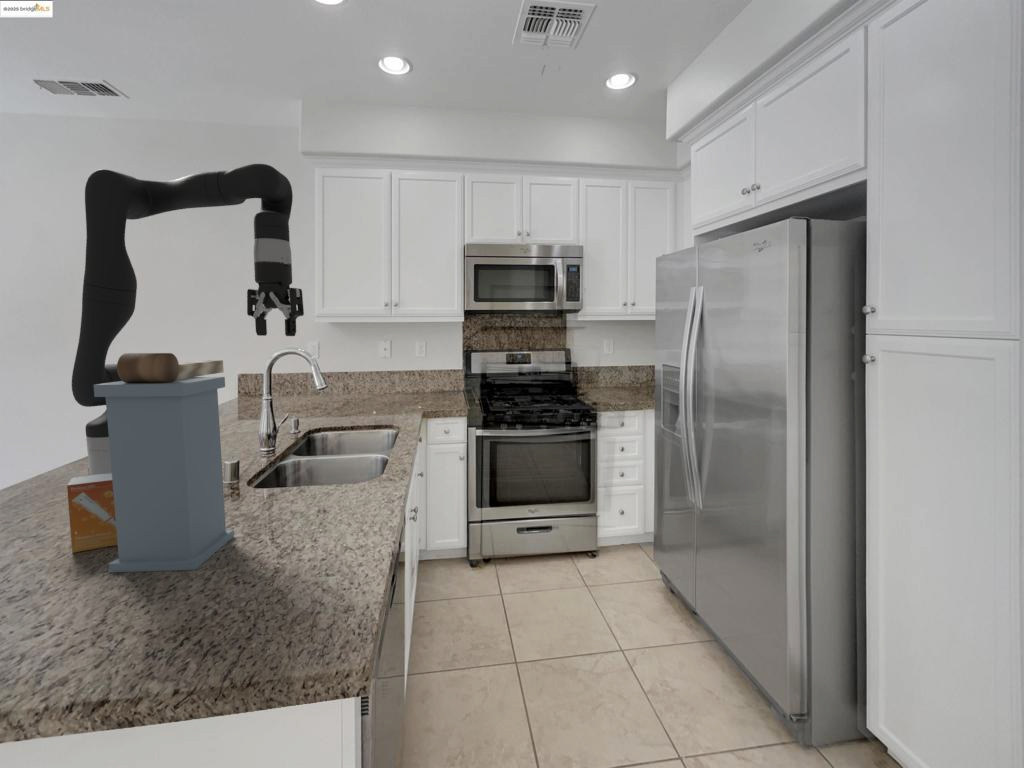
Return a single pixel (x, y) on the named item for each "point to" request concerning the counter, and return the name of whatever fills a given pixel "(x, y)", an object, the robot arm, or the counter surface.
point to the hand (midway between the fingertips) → (276, 335)
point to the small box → (91, 512)
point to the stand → (166, 473)
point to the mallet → (162, 368)
